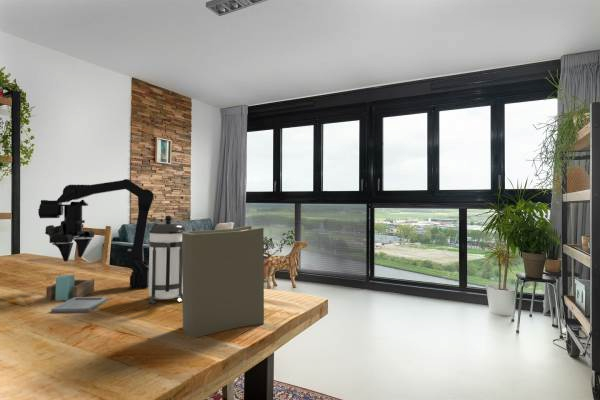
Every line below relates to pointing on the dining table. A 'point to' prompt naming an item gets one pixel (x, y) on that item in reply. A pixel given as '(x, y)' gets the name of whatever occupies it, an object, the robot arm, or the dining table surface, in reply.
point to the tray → (80, 304)
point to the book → (222, 279)
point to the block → (64, 287)
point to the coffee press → (165, 261)
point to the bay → (79, 289)
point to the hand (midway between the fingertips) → (73, 259)
